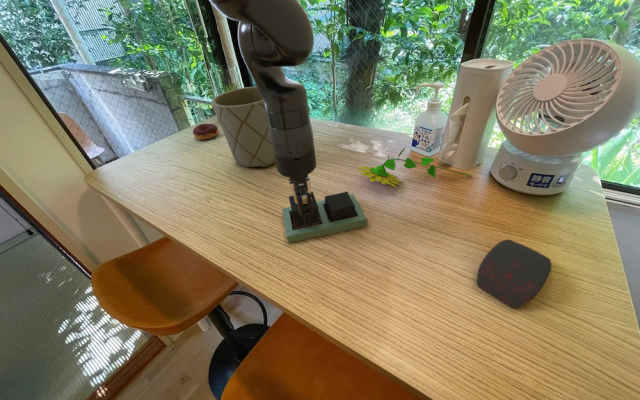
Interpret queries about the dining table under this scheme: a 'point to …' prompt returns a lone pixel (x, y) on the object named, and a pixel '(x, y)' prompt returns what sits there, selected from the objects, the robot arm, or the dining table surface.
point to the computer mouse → (513, 273)
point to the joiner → (323, 223)
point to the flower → (386, 177)
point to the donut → (205, 131)
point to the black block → (296, 213)
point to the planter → (245, 126)
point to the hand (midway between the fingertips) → (304, 215)
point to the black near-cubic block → (339, 206)
